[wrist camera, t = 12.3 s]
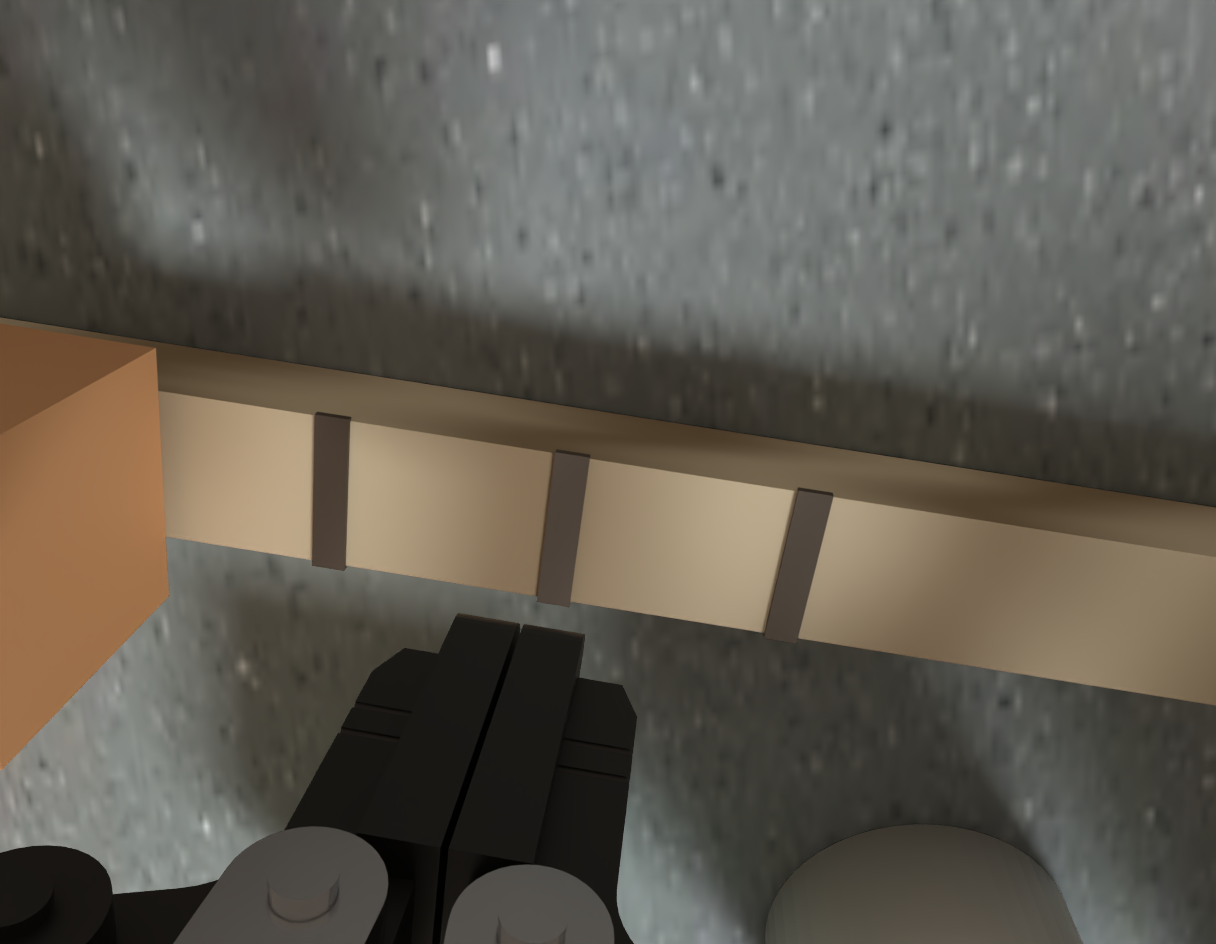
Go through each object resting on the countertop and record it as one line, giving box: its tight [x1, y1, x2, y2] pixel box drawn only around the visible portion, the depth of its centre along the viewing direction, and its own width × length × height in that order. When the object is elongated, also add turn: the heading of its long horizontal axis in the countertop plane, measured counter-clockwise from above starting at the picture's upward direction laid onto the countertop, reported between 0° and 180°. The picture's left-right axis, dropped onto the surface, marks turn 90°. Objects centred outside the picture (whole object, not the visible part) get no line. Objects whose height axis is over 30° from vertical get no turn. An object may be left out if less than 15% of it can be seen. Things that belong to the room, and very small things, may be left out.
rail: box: [0, 318, 1216, 705], centre depth 16 cm, size 22×2×2 cm, turn 82°
